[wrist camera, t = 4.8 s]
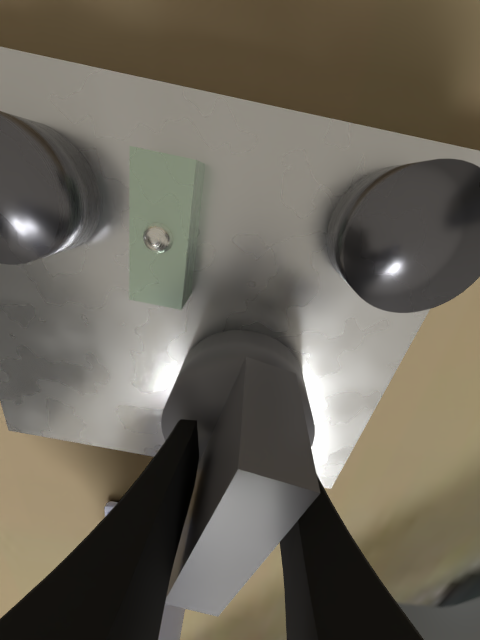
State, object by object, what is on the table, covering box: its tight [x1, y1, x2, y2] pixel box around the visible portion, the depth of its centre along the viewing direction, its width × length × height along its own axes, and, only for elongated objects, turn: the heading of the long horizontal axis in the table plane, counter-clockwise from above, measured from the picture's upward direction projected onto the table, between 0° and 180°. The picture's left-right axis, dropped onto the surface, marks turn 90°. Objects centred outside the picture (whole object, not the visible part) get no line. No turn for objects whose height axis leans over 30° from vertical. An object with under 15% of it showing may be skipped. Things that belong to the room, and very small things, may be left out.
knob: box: [161, 330, 320, 616], centre depth 11 cm, size 6×12×7 cm, turn 160°
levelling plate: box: [0, 47, 480, 488], centre depth 12 cm, size 18×20×4 cm
